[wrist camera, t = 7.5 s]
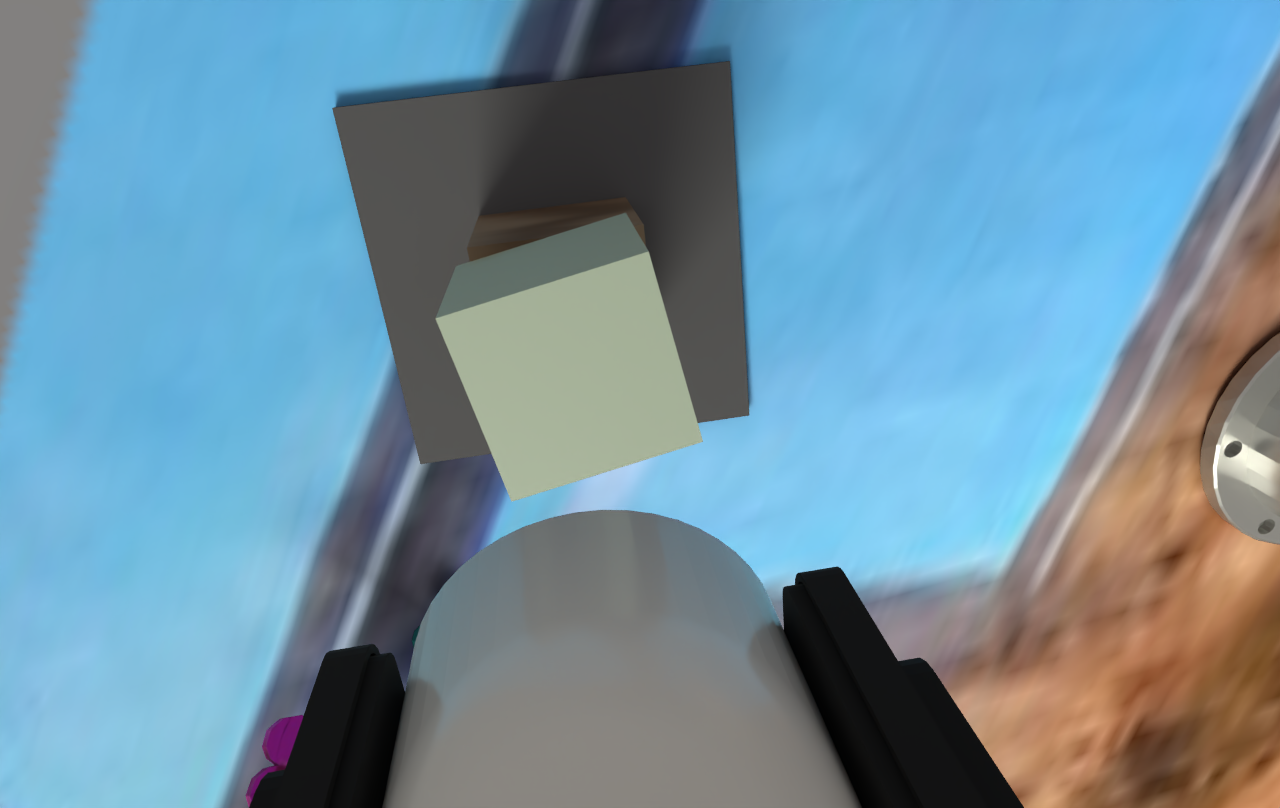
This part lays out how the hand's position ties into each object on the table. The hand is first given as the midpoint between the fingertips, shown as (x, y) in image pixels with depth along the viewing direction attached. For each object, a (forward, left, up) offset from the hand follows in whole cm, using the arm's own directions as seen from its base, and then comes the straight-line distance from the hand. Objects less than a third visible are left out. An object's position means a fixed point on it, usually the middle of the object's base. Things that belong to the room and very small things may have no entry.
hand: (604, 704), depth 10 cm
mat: (0, 0, -23) cm, 23 cm away
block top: (0, 0, -17) cm, 17 cm away
